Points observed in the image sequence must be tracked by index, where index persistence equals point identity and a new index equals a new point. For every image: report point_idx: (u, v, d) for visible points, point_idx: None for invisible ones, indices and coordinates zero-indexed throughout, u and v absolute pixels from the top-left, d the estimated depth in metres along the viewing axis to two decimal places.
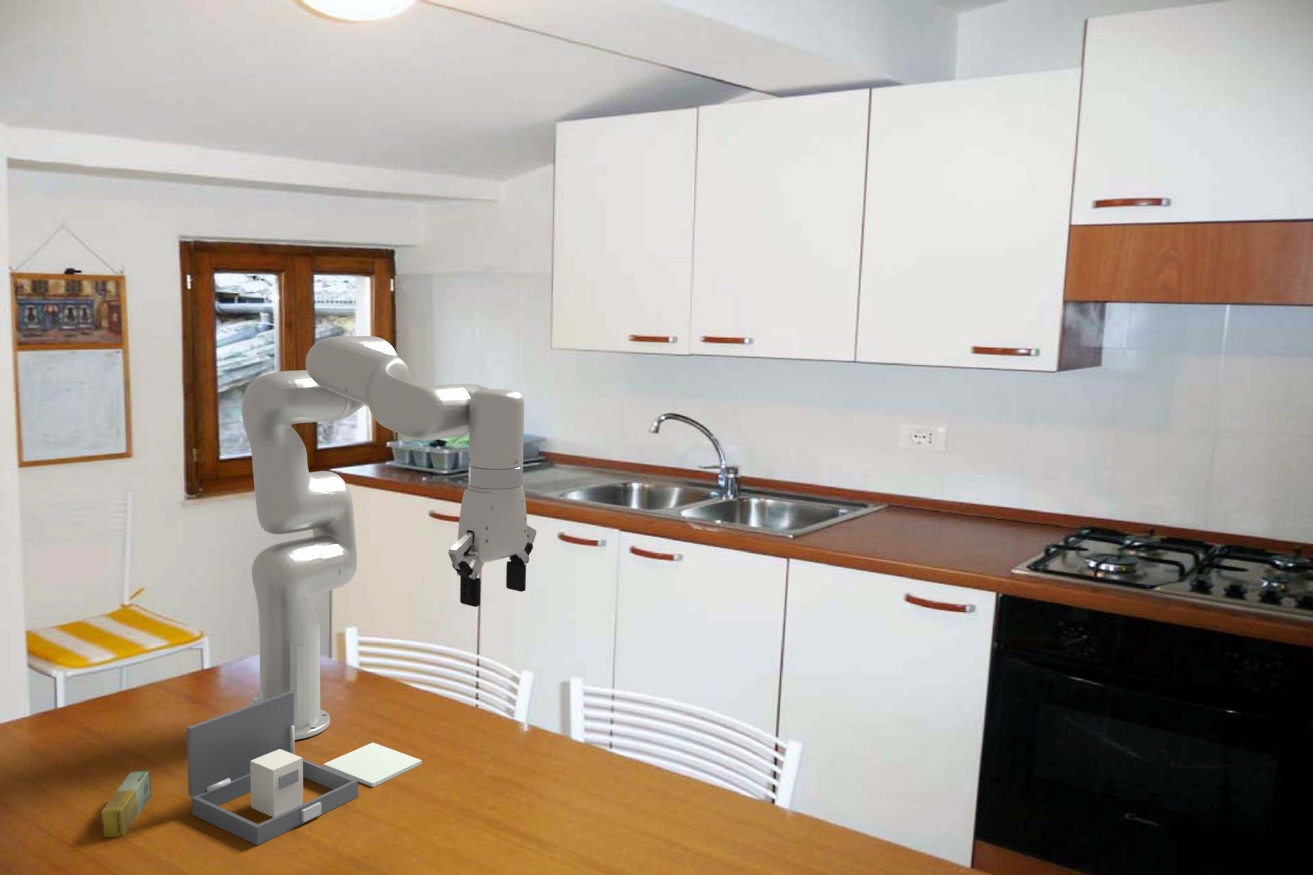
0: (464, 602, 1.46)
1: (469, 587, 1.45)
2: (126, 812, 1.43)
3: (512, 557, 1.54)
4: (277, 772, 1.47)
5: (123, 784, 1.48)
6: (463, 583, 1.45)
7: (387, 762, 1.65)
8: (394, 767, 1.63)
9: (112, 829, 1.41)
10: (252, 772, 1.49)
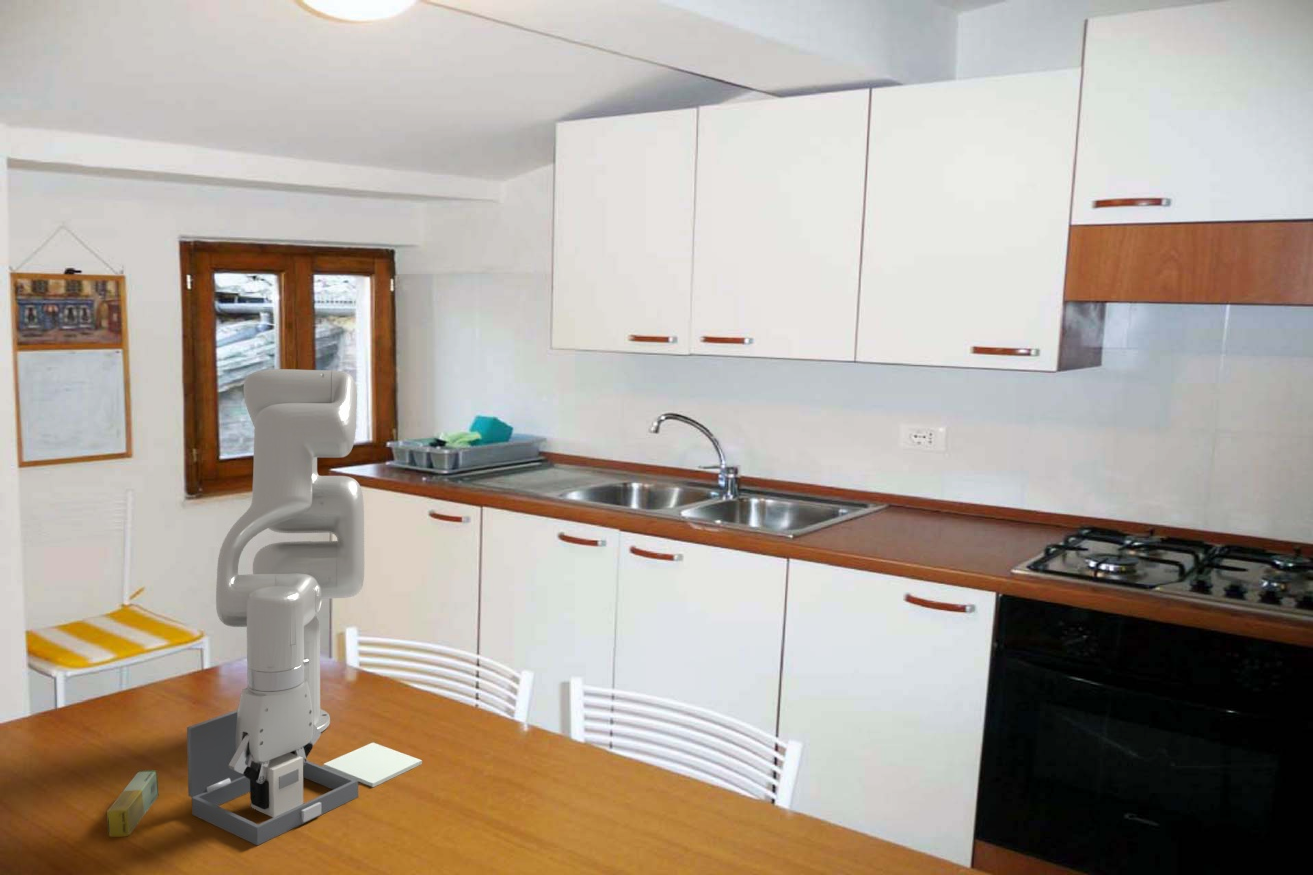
0: (254, 803, 1.49)
1: (257, 791, 1.47)
2: (132, 812, 1.43)
3: None
4: (277, 771, 1.47)
5: (130, 784, 1.48)
6: (252, 786, 1.48)
7: (387, 762, 1.65)
8: (394, 767, 1.63)
9: (117, 829, 1.41)
10: None
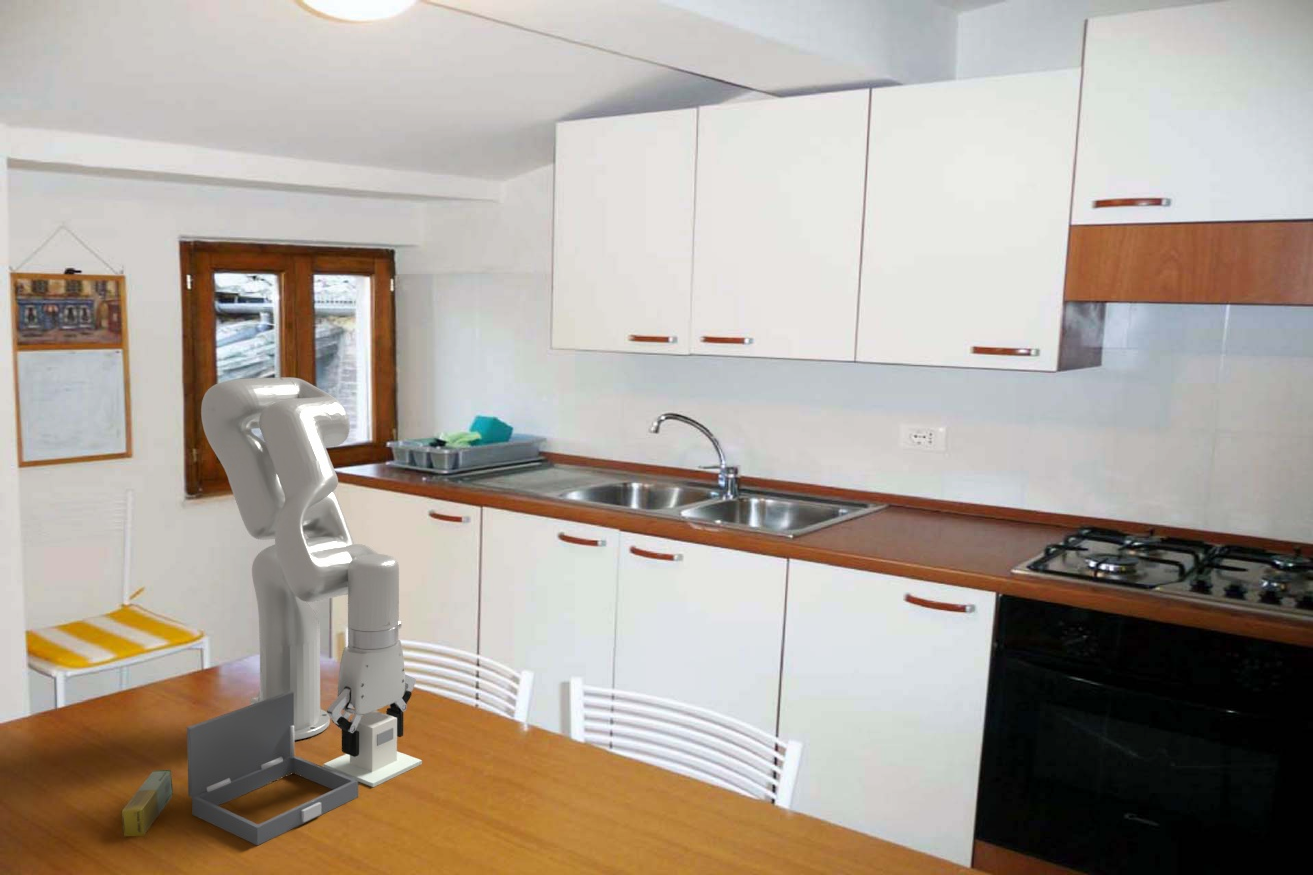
0: (345, 751, 1.61)
1: (348, 739, 1.59)
2: (147, 811, 1.43)
3: (391, 704, 1.68)
4: (375, 730, 1.61)
5: (145, 783, 1.48)
6: (343, 735, 1.60)
7: None
8: (394, 767, 1.63)
9: (132, 829, 1.41)
10: None
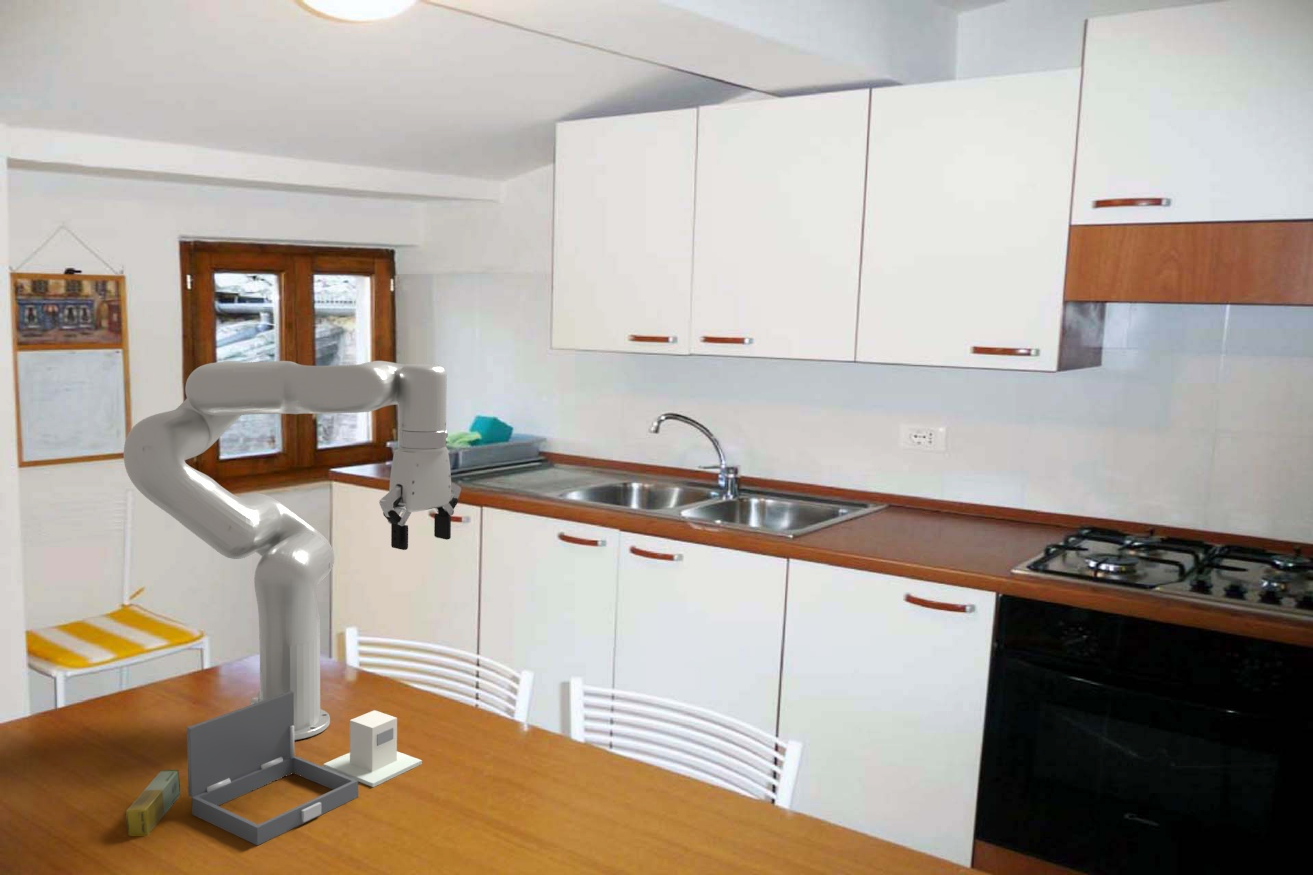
0: (394, 546, 1.71)
1: (398, 533, 1.69)
2: (151, 811, 1.43)
3: (439, 510, 1.78)
4: (375, 730, 1.61)
5: (151, 783, 1.49)
6: (393, 530, 1.69)
7: None
8: (394, 767, 1.63)
9: (136, 829, 1.41)
10: (351, 731, 1.63)
